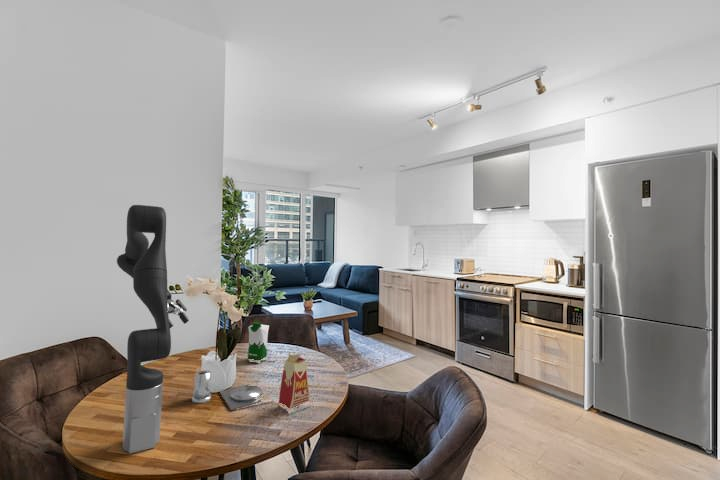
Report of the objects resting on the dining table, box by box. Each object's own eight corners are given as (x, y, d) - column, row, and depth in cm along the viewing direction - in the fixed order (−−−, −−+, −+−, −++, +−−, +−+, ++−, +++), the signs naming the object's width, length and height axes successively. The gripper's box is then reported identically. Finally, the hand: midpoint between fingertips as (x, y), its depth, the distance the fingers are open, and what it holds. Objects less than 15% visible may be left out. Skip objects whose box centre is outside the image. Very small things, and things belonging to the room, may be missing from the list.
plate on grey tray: (273, 401, 130) (274, 396, 130) (230, 411, 121) (230, 405, 121) (258, 384, 144) (259, 380, 144) (219, 392, 135) (219, 387, 135)
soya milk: (244, 362, 171) (246, 322, 172) (255, 357, 180) (257, 319, 180) (259, 364, 169) (261, 324, 169) (269, 359, 177) (271, 321, 178)
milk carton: (310, 406, 127) (313, 353, 127) (289, 414, 120) (292, 357, 121) (297, 398, 133) (299, 347, 134) (276, 405, 127) (278, 351, 127)
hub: (212, 400, 128) (214, 374, 128) (193, 404, 124) (195, 377, 125) (209, 394, 133) (210, 368, 134) (190, 397, 130) (192, 371, 130)
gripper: (147, 288, 126) (172, 323, 124) (175, 283, 140) (197, 314, 138) (134, 300, 127) (158, 335, 125) (163, 295, 141) (185, 326, 139)
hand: (179, 324), depth 131 cm, fingers open, 8 cm apart
